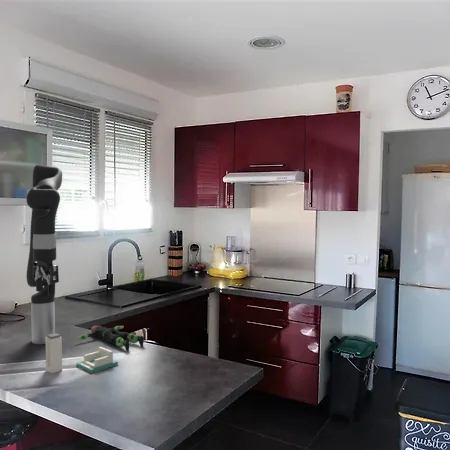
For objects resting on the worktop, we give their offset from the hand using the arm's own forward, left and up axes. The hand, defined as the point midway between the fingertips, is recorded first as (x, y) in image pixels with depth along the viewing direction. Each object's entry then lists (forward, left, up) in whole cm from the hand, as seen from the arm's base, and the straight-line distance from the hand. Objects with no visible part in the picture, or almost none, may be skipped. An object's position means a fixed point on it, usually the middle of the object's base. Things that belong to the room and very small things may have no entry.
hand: (45, 293), depth 156 cm
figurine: (-13, +36, -29) cm, 47 cm away
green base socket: (+8, +15, -28) cm, 33 cm away
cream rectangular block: (+1, +2, -28) cm, 28 cm away
